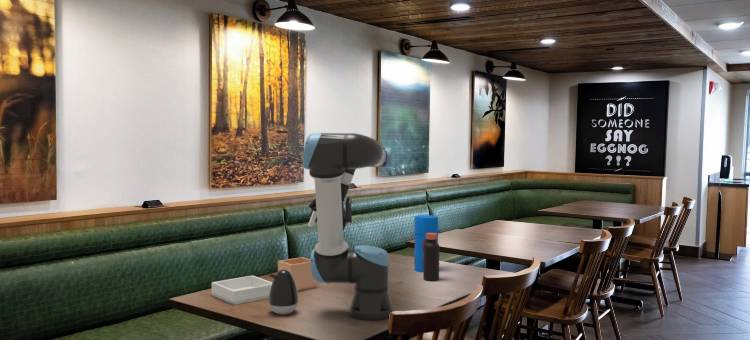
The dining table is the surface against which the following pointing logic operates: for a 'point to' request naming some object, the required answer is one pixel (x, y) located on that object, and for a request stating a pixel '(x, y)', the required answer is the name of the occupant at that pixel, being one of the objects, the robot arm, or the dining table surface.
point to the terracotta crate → (299, 272)
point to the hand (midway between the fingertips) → (323, 231)
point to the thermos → (423, 237)
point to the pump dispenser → (283, 293)
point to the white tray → (241, 289)
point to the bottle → (431, 258)
